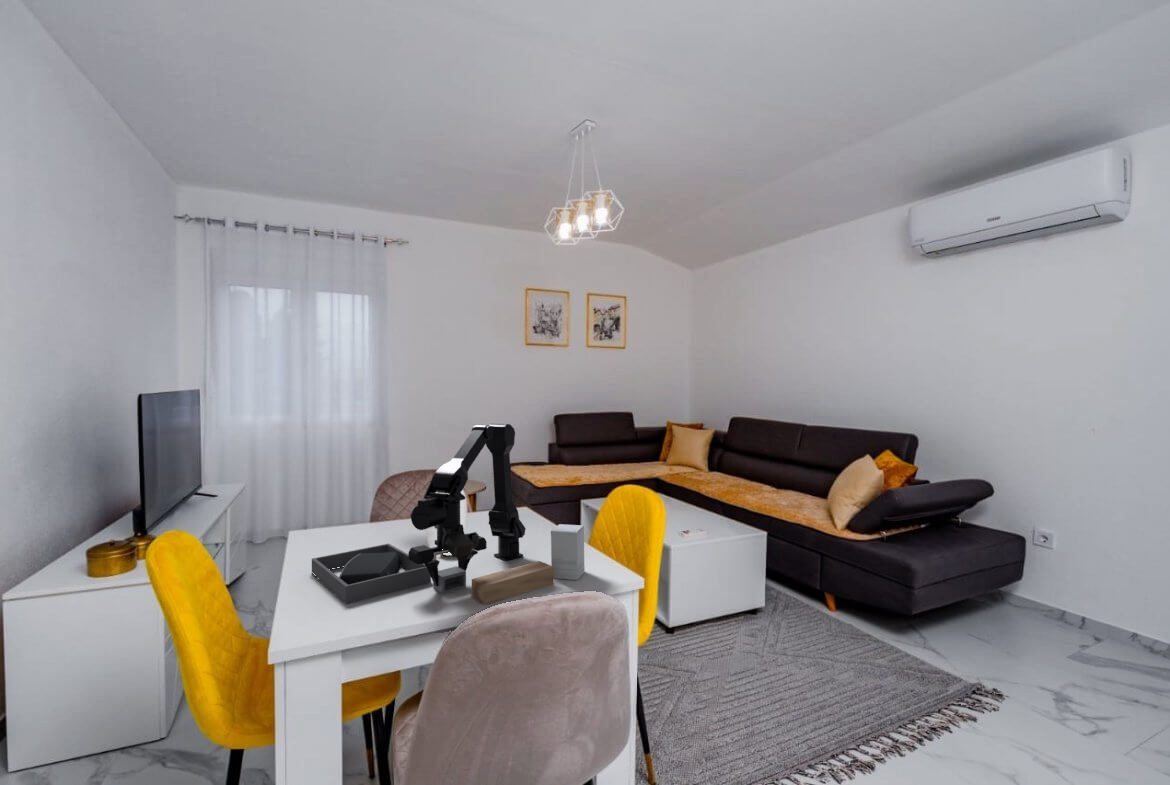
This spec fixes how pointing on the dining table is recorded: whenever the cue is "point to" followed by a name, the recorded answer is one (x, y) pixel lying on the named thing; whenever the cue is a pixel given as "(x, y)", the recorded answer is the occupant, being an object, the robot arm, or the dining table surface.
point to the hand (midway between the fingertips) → (449, 582)
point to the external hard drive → (369, 567)
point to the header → (511, 582)
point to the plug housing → (450, 580)
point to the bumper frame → (372, 587)
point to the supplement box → (567, 551)
